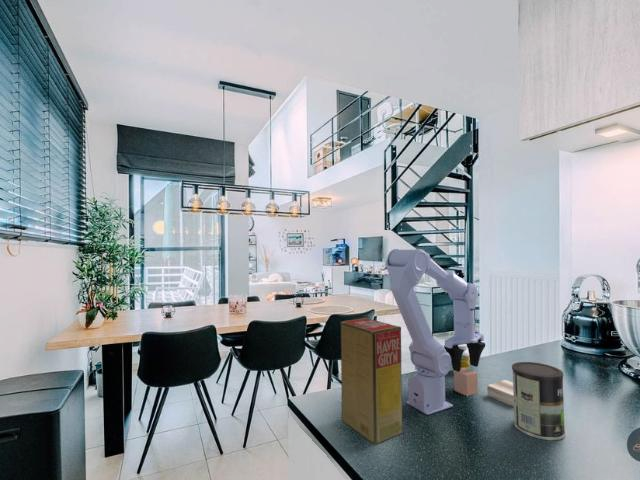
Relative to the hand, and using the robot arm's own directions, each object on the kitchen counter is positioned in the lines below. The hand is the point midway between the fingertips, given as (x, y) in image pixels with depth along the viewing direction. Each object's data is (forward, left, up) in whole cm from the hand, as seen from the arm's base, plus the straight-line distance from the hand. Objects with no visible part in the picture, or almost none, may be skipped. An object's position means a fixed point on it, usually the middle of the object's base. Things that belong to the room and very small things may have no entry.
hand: (465, 368), depth 101 cm
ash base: (+7, -9, -7) cm, 13 cm away
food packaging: (-36, -2, -7) cm, 37 cm away
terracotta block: (0, 0, -7) cm, 7 cm away
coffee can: (-2, -22, -7) cm, 23 cm away
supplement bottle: (+11, +11, -7) cm, 17 cm away
